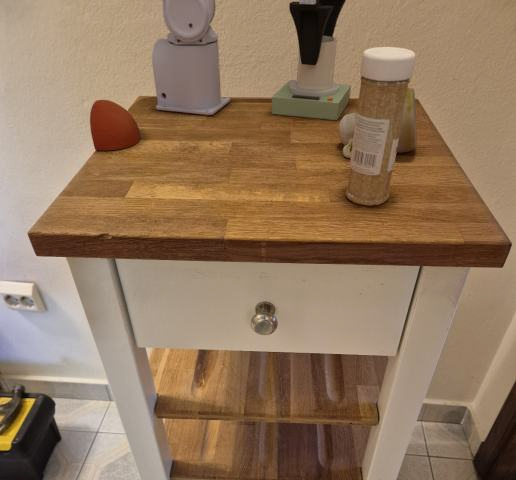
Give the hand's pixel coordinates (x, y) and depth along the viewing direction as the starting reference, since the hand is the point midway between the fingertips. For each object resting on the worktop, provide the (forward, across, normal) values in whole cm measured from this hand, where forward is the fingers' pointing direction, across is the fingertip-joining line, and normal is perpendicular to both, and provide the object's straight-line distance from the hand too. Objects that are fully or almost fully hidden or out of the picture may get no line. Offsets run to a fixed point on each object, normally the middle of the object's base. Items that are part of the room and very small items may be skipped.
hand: (315, 58), depth 69 cm
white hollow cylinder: (+3, 0, 0) cm, 4 cm away
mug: (+7, -16, -12) cm, 21 cm away
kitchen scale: (+6, 0, 0) cm, 7 cm away
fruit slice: (+3, -22, +19) cm, 29 cm away
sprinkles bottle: (+7, -30, -13) cm, 33 cm away
